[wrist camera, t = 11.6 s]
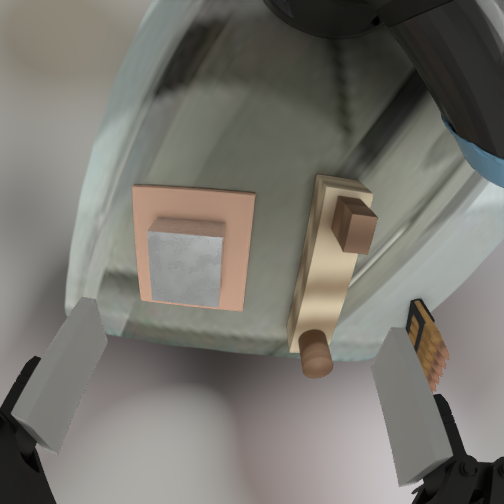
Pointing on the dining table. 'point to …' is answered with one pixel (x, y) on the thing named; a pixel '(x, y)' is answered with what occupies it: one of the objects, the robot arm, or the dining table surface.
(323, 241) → the wooden peg stand
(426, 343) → the ammunition clip
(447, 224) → the dining table surface
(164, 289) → the brushed metal block
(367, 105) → the dining table surface
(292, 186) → the dining table surface
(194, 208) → the mat
